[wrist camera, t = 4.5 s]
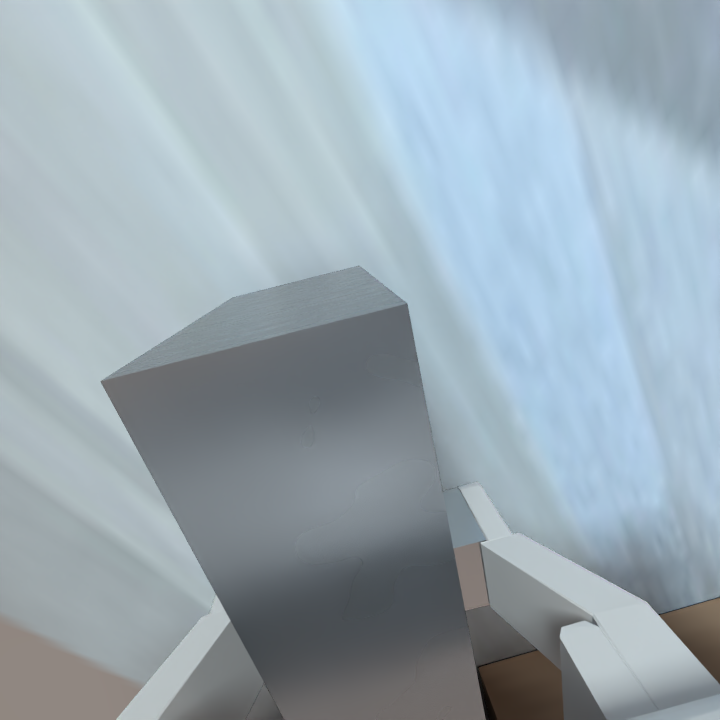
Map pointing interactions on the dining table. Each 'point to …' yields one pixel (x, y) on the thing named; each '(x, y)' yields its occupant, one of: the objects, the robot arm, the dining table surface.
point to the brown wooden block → (544, 680)
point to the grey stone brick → (312, 495)
